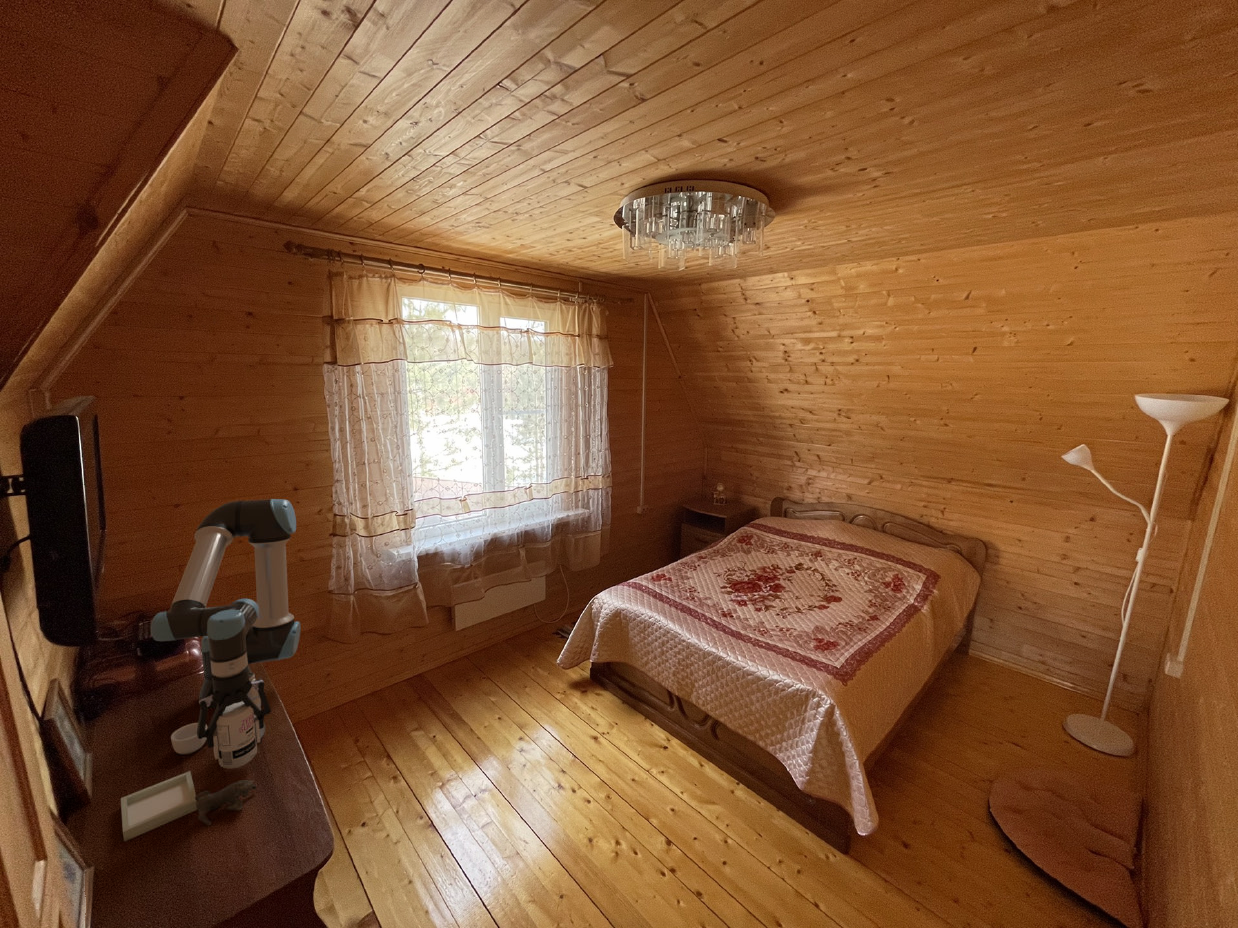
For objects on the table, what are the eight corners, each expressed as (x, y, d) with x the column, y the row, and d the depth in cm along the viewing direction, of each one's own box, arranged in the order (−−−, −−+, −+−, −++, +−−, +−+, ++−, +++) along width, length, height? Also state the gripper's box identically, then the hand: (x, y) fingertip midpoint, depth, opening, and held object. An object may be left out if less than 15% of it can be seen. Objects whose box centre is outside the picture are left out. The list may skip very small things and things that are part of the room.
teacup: (176, 762, 139) (174, 744, 138) (169, 749, 144) (167, 732, 143) (221, 743, 147) (219, 726, 146) (213, 731, 151) (212, 715, 150)
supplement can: (224, 752, 139) (219, 702, 136) (260, 744, 142) (256, 696, 140) (215, 774, 132) (209, 721, 129) (253, 765, 135) (248, 714, 132)
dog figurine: (198, 830, 119) (194, 802, 118) (197, 814, 123) (194, 787, 122) (260, 804, 127) (258, 777, 125) (257, 789, 131) (255, 763, 130)
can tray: (121, 807, 124) (120, 798, 124) (191, 779, 133) (190, 770, 133) (124, 841, 115) (122, 832, 115) (198, 809, 124) (197, 800, 124)
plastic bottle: (251, 748, 145) (246, 684, 142) (232, 744, 146) (226, 680, 143) (271, 733, 151) (266, 671, 148) (252, 730, 153) (247, 668, 149)
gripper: (178, 693, 122) (188, 776, 126) (281, 661, 137) (287, 736, 141) (175, 679, 128) (184, 759, 131) (274, 650, 142) (280, 723, 146)
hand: (237, 747), depth 136 cm, fingers closed on supplement can, 8 cm apart
